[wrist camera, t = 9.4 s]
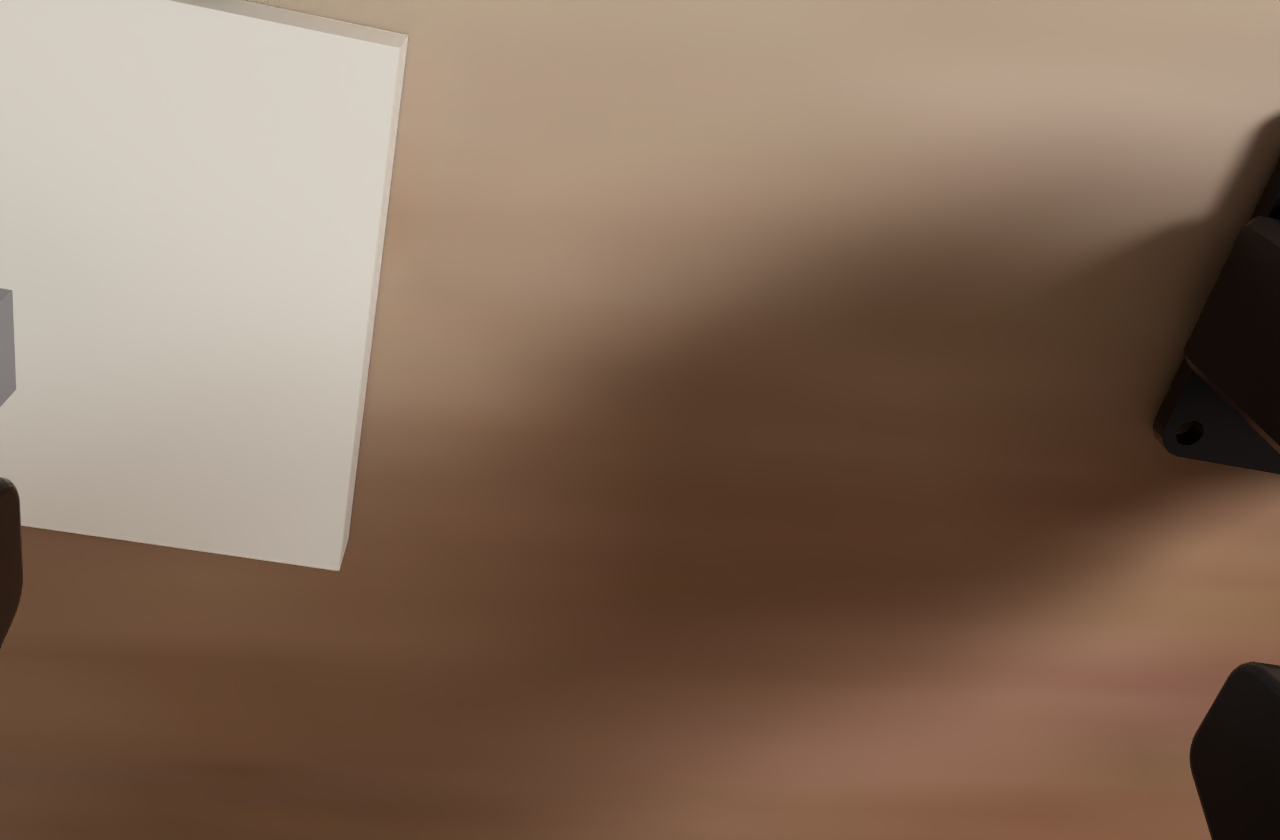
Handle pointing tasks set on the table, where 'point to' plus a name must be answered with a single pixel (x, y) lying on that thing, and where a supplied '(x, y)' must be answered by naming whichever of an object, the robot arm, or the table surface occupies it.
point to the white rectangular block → (191, 268)
